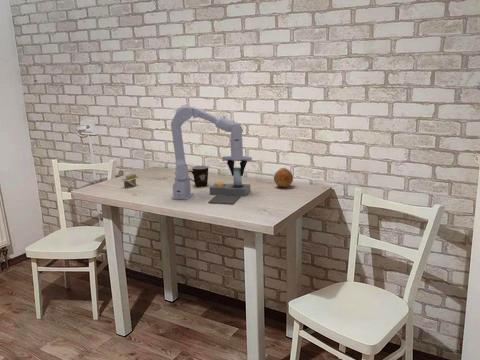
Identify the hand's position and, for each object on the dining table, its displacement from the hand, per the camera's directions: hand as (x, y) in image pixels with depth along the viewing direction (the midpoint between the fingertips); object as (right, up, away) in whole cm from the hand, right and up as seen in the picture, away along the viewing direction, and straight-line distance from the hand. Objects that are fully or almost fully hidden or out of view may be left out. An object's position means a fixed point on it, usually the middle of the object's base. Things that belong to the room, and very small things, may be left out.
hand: (237, 175), depth 224 cm
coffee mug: (-21, -5, +19) cm, 29 cm away
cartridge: (0, -4, +1) cm, 4 cm away
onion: (+24, -6, +11) cm, 27 cm away
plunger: (-9, -8, +4) cm, 12 cm away
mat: (-6, -12, -9) cm, 16 cm away
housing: (-4, -9, +3) cm, 10 cm away
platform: (-57, -6, +22) cm, 61 cm away
